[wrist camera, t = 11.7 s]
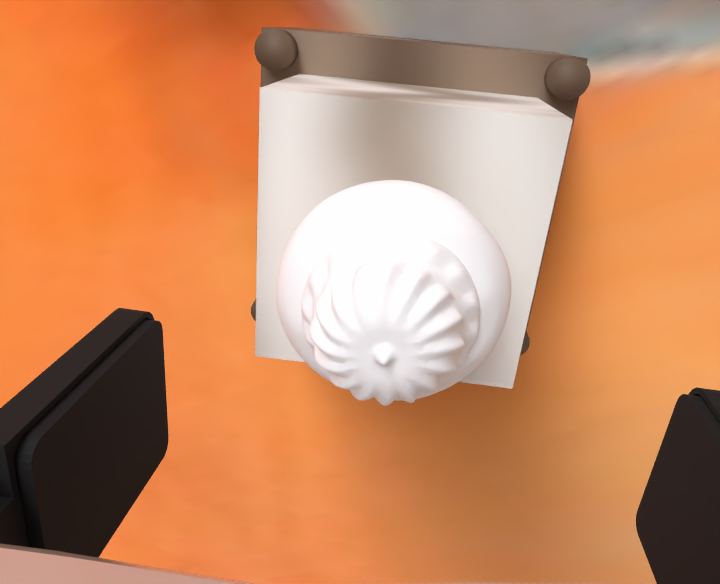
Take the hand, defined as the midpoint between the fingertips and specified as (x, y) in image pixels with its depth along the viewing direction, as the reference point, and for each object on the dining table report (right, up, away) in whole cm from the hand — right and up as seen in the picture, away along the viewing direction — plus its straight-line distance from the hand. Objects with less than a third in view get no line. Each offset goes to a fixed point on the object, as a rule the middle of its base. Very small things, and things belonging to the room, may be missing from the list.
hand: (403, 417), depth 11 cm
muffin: (0, +4, +8) cm, 9 cm away
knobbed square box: (+2, +8, +19) cm, 21 cm away
